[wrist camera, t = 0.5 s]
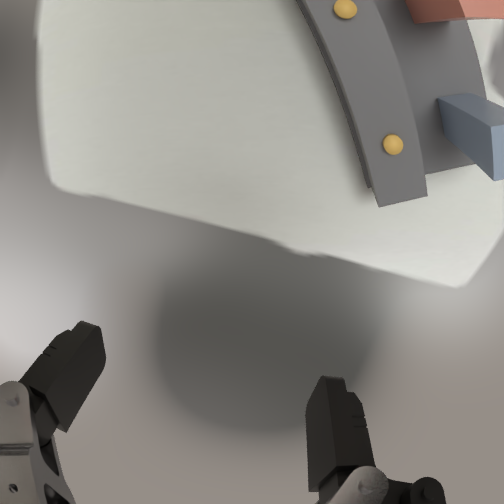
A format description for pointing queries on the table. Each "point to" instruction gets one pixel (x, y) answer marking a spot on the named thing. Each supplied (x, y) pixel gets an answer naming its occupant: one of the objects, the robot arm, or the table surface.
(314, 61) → the table surface
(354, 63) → the console
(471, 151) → the blue key
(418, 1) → the red key
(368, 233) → the table surface
